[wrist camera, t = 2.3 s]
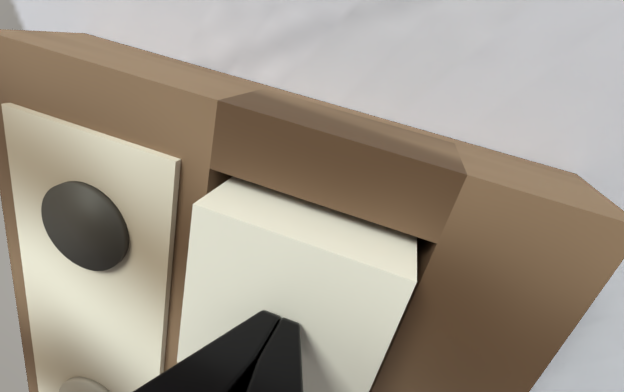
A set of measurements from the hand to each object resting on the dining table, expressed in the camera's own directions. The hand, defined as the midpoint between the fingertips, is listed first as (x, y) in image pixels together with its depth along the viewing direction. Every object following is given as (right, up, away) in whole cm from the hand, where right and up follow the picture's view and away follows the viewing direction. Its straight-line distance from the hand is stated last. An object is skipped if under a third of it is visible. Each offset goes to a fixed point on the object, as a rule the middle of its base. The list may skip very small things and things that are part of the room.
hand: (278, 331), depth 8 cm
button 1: (+1, +1, +3) cm, 3 cm away
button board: (-2, -4, +7) cm, 8 cm away
